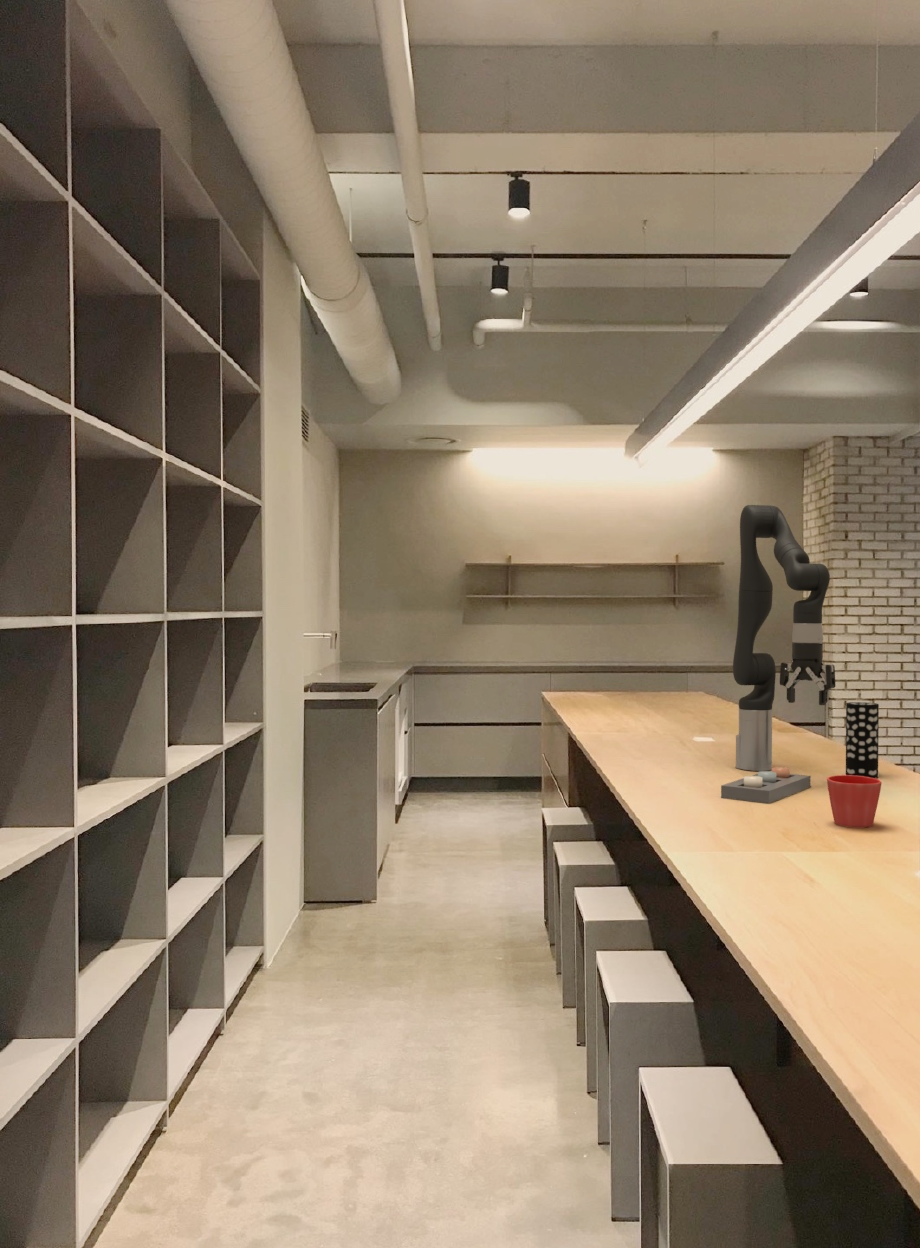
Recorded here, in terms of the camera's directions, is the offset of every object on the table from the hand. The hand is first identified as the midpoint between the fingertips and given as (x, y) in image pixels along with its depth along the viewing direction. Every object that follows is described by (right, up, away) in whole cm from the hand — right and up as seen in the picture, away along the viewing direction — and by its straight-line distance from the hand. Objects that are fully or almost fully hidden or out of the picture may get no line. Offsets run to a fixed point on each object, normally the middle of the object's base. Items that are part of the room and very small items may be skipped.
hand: (806, 703), depth 265 cm
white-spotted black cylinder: (+21, -22, +17) cm, 35 cm away
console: (-12, -22, -7) cm, 26 cm away
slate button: (-12, -20, -7) cm, 24 cm away
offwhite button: (-18, -20, -14) cm, 30 cm away
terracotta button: (-7, -19, 0) cm, 21 cm away
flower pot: (-5, -23, -45) cm, 50 cm away
